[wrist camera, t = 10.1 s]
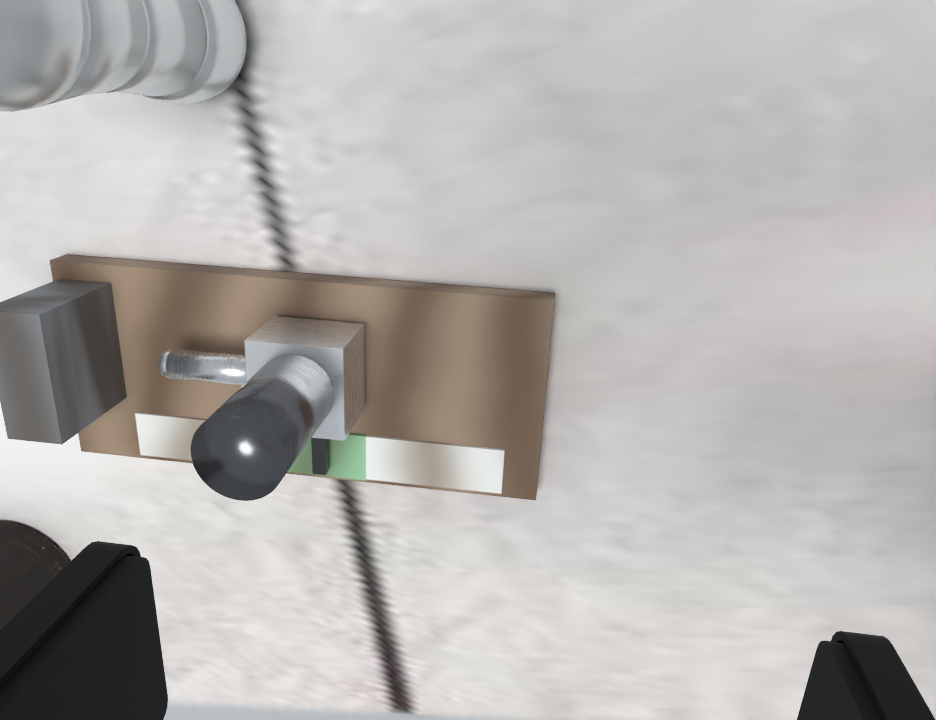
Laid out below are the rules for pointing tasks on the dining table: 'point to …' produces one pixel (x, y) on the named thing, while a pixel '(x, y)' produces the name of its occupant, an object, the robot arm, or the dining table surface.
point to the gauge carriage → (275, 401)
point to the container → (24, 567)
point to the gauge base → (223, 331)
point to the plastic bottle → (118, 49)
